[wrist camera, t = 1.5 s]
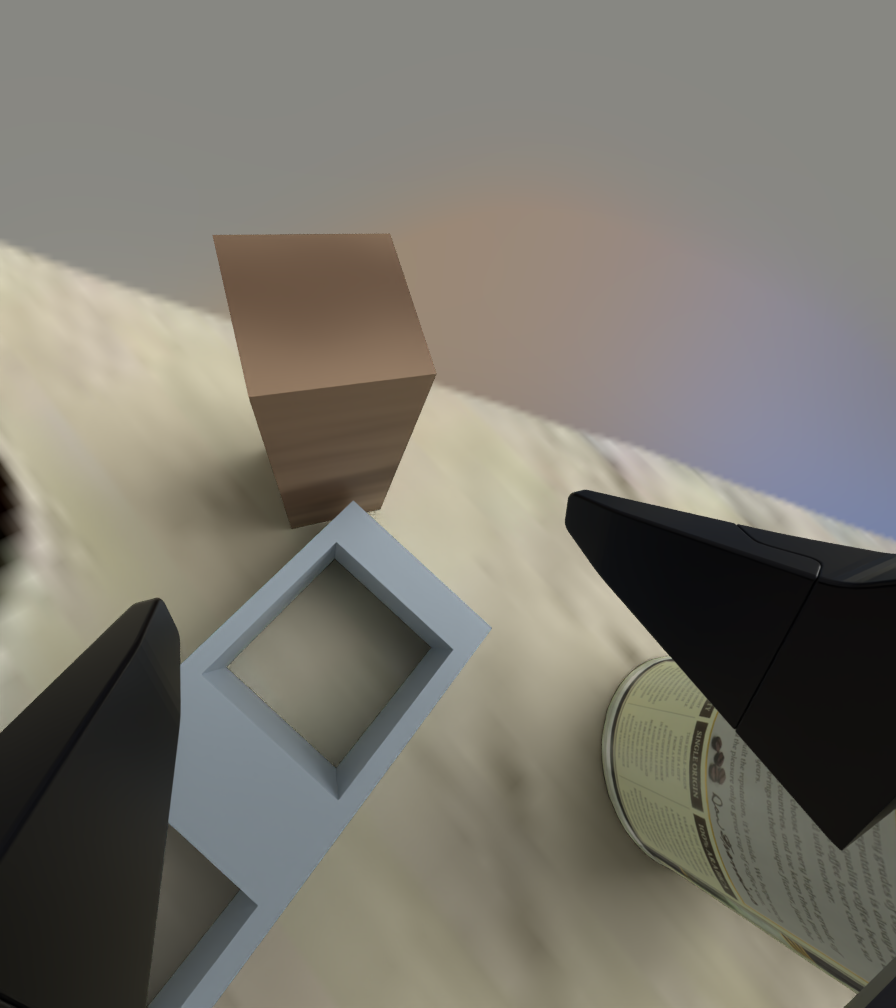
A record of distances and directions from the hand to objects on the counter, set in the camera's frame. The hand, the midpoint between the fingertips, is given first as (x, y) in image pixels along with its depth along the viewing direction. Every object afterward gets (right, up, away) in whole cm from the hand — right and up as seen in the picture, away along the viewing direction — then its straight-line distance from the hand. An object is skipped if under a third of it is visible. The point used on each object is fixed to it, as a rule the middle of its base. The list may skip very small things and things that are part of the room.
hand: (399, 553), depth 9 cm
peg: (-5, +2, +13) cm, 14 cm away
